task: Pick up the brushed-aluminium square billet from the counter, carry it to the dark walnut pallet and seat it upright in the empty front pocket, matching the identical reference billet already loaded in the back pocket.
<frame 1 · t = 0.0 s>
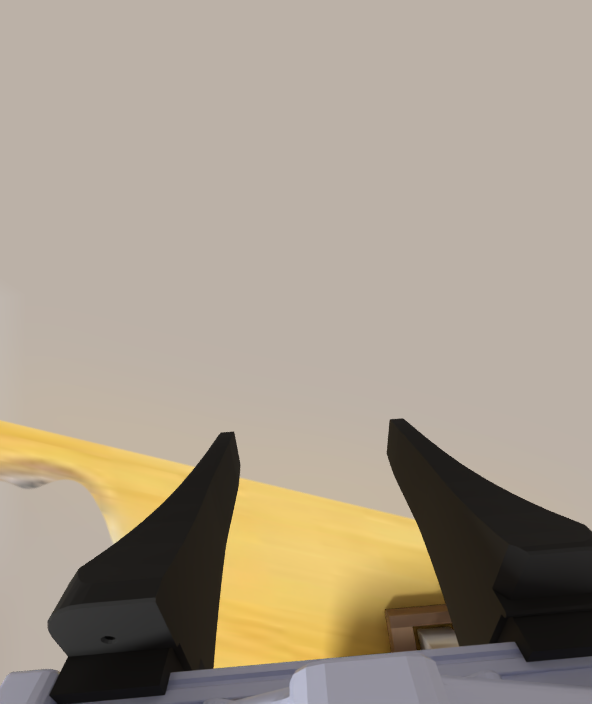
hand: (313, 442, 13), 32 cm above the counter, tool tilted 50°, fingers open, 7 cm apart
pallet: (483, 645, 34), on the counter
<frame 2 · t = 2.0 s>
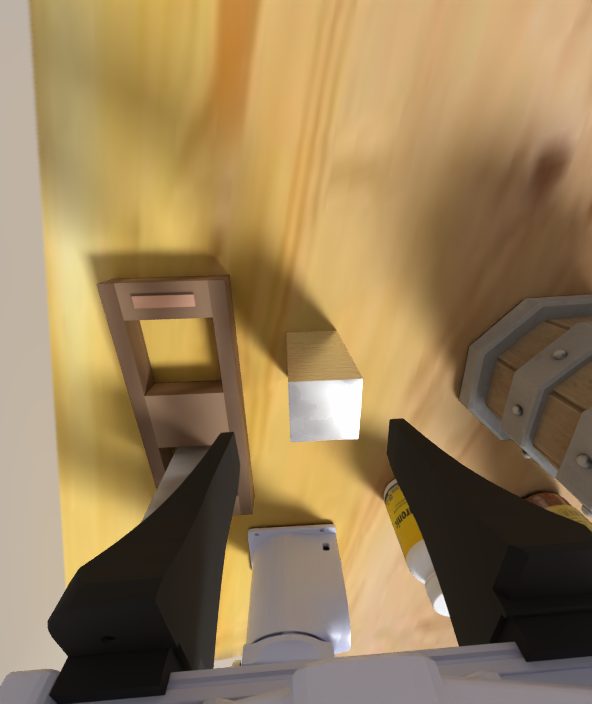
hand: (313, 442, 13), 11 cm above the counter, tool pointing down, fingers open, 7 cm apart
tankard: (573, 363, 25), on the counter
sauce bottle: (533, 508, 32), on the counter
billet: (311, 354, 23), on the counter
supplement bottle: (406, 489, 30), on the counter
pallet: (196, 407, 25), on the counter
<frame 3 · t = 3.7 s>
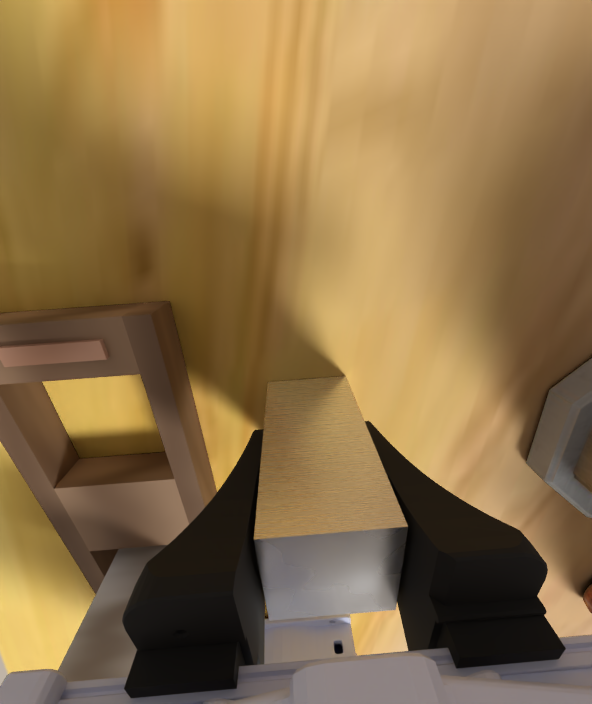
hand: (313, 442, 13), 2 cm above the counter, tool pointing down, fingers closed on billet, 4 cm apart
billet: (308, 411, 16), on the counter, touching gripper
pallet: (145, 486, 17), on the counter
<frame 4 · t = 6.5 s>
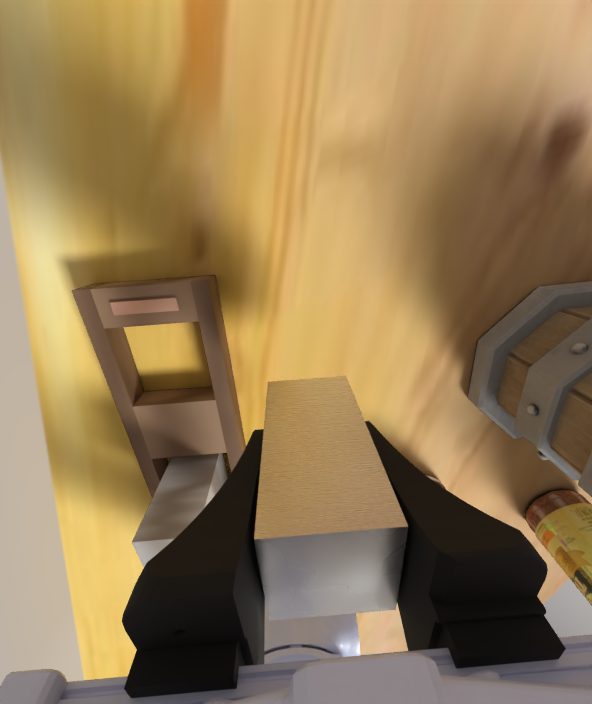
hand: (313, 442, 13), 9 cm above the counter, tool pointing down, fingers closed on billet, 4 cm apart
tankard: (591, 354, 23), on the counter
sauce bottle: (549, 505, 31), on the counter
billet: (308, 411, 16), point 7 cm above the counter, touching gripper
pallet: (189, 414, 24), on the counter
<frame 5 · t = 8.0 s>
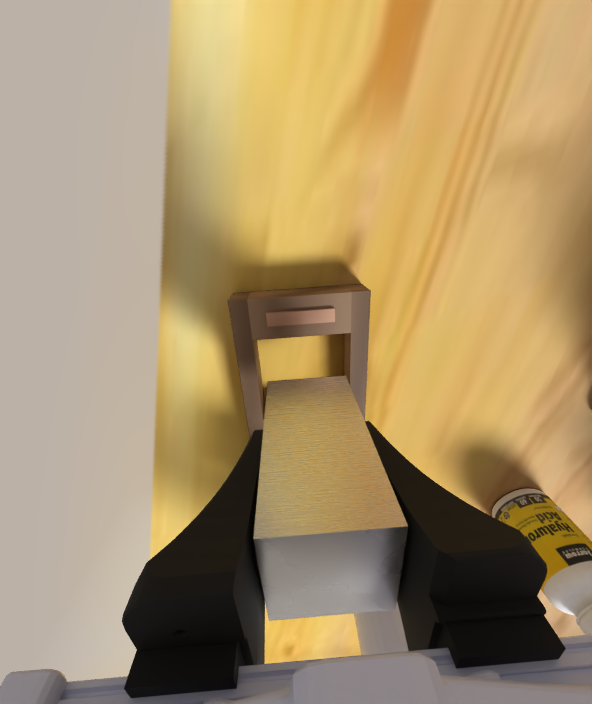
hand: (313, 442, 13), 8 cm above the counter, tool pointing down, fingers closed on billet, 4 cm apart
billet: (308, 410, 16), point 5 cm above the counter, touching gripper
supplement bottle: (515, 504, 28), on the counter
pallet: (305, 427, 23), on the counter
when the fingers open (5 cm above the counter, at t = 9.1 s): billet drops 3 cm, resting in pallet.
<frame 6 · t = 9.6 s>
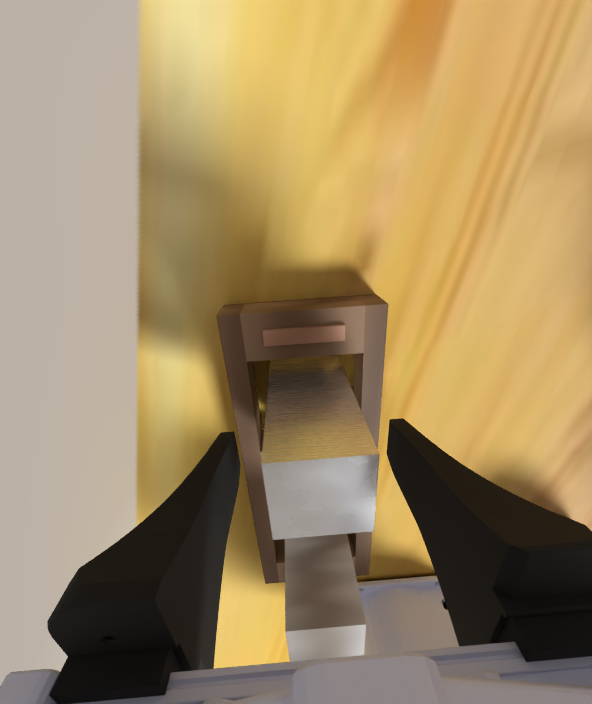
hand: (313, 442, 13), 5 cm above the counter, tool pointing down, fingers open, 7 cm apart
billet: (305, 386, 18), resting in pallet
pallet: (309, 454, 20), on the counter
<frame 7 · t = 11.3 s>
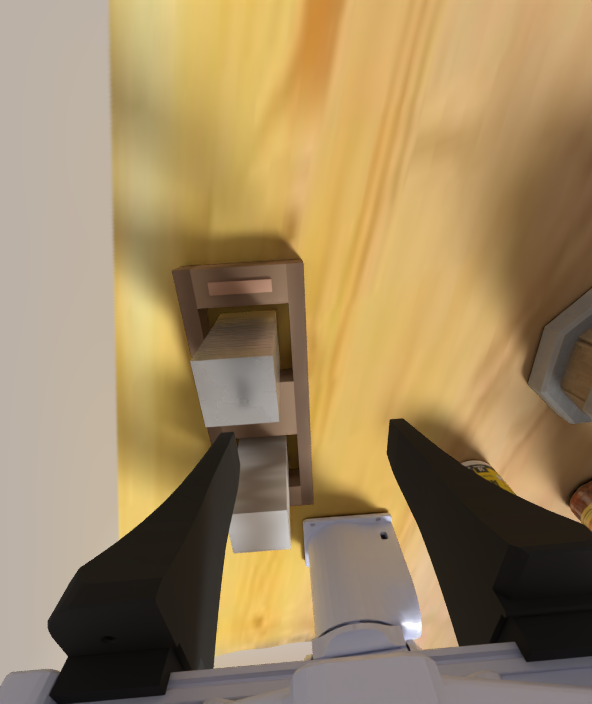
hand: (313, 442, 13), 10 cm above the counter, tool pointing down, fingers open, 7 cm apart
billet: (251, 336, 22), resting in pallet
supplement bottle: (464, 476, 30), on the counter
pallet: (259, 397, 24), on the counter
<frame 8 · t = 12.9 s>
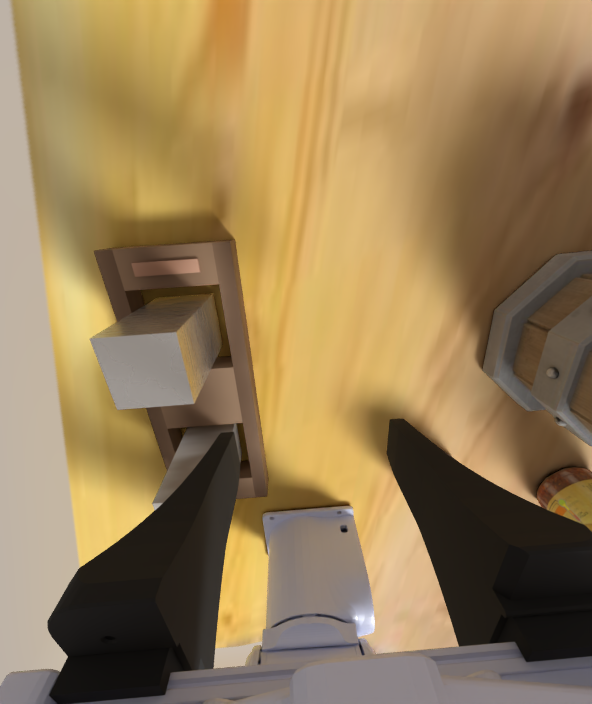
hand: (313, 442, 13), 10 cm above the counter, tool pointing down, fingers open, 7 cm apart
sauce bottle: (560, 484, 31), on the counter
billet: (191, 321, 21), resting in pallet
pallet: (205, 385, 24), on the counter
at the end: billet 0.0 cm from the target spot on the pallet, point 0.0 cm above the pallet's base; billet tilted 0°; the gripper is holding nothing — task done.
